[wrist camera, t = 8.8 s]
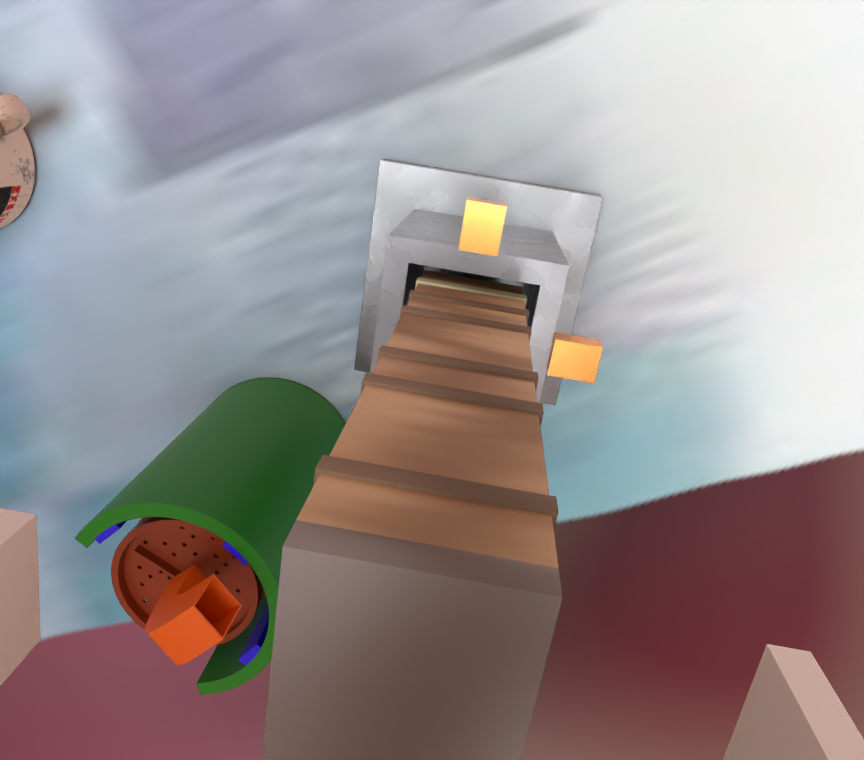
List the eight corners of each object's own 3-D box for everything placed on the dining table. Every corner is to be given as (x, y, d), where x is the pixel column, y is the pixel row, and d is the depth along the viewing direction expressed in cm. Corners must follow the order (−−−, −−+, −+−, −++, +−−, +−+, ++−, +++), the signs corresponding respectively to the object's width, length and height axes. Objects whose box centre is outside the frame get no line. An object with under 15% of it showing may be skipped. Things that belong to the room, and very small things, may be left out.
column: (408, 363, 34) (255, 762, 13) (423, 267, 33) (276, 539, 11) (505, 380, 34) (513, 811, 13) (524, 284, 33) (570, 593, 11)
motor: (180, 435, 47) (-30, 640, 29) (269, 345, 45) (102, 505, 26) (295, 538, 49) (168, 794, 30) (387, 456, 47) (310, 682, 28)
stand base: (358, 361, 45) (309, 444, 33) (384, 158, 41) (338, 173, 29) (553, 396, 44) (572, 491, 33) (599, 194, 40) (638, 223, 29)
